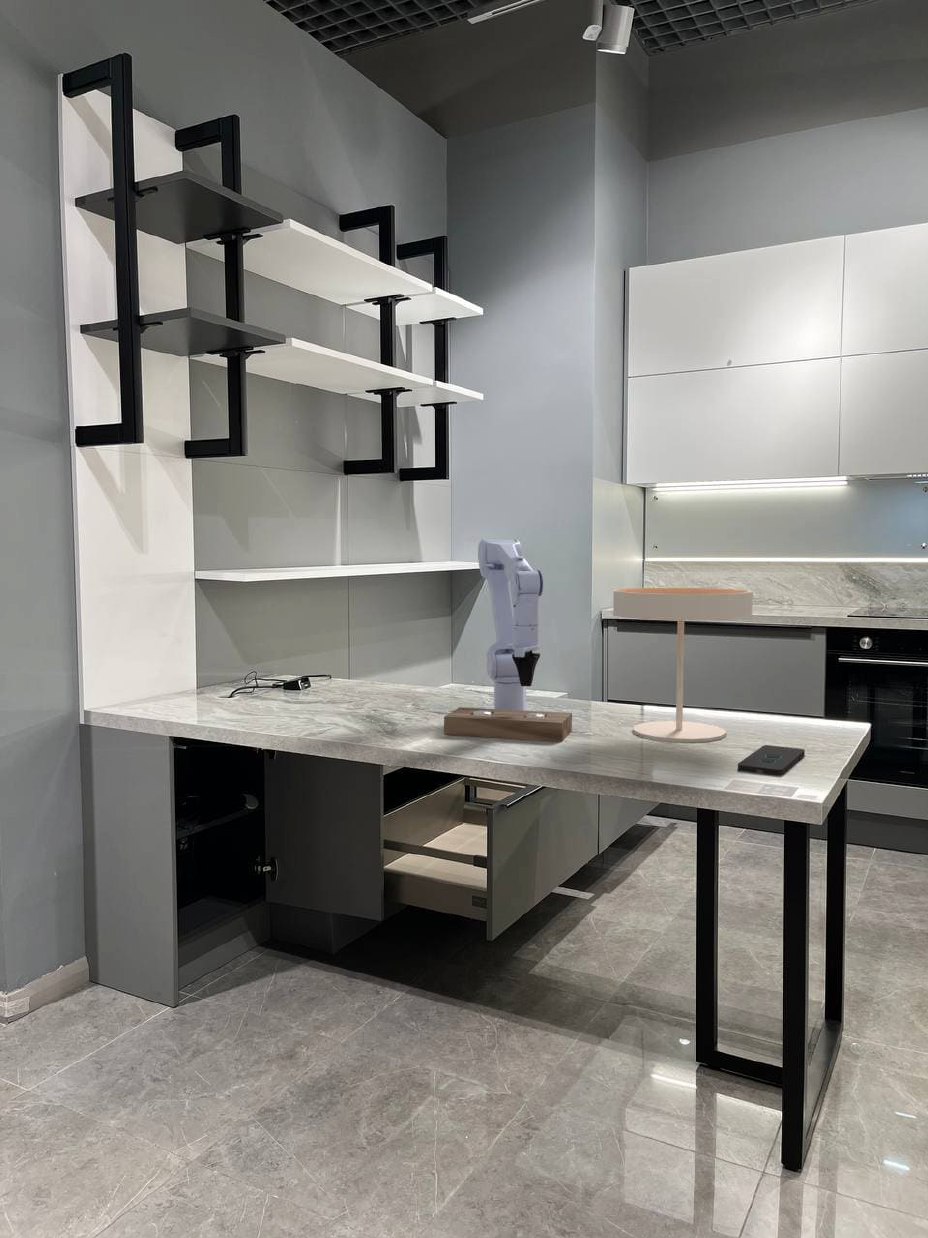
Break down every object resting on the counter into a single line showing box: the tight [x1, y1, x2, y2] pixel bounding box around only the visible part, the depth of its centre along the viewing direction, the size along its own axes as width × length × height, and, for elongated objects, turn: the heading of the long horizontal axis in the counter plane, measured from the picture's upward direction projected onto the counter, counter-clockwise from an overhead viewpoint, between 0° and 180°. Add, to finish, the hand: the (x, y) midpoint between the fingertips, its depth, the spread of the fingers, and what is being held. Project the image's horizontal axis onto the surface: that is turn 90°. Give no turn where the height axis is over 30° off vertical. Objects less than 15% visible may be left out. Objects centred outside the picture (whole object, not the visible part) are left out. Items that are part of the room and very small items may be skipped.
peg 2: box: [526, 713, 545, 718], centre depth 205 cm, size 4×4×4 cm
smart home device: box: [737, 744, 806, 777], centre depth 178 cm, size 8×2×20 cm
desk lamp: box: [612, 587, 754, 743], centre depth 205 cm, size 30×30×31 cm
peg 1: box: [473, 711, 491, 716], centre depth 208 cm, size 4×4×4 cm
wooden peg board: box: [443, 706, 573, 742], centre depth 207 cm, size 12×26×4 cm, turn 74°
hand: (526, 686), depth 209 cm, fingers closed
